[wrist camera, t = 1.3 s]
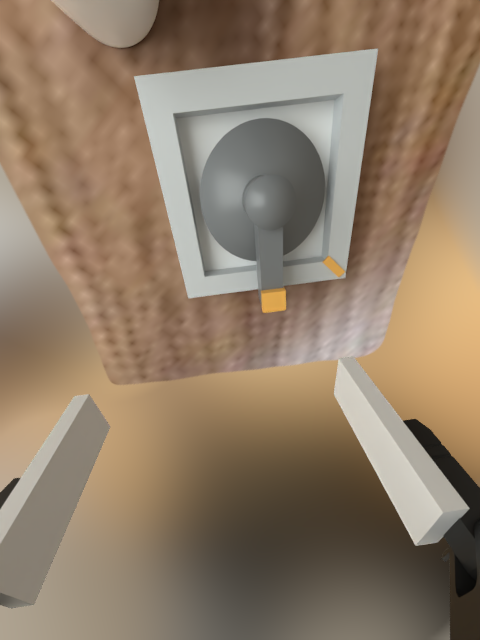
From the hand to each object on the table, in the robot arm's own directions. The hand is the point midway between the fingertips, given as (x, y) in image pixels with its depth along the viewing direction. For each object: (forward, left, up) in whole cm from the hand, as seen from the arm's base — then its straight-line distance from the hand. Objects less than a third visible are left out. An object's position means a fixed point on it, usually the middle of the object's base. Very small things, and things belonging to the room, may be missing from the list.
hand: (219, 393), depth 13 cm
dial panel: (-7, +6, -22) cm, 24 cm away
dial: (-5, +6, -20) cm, 21 cm away
